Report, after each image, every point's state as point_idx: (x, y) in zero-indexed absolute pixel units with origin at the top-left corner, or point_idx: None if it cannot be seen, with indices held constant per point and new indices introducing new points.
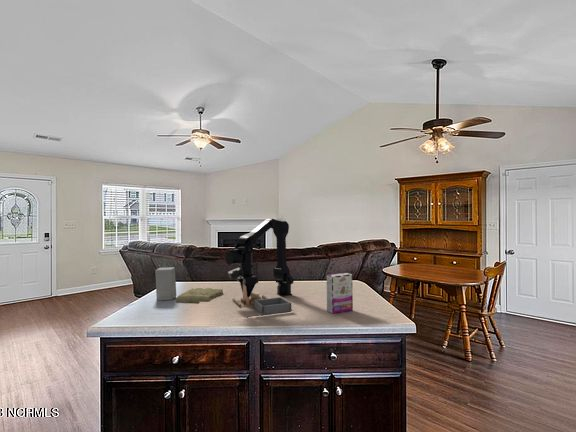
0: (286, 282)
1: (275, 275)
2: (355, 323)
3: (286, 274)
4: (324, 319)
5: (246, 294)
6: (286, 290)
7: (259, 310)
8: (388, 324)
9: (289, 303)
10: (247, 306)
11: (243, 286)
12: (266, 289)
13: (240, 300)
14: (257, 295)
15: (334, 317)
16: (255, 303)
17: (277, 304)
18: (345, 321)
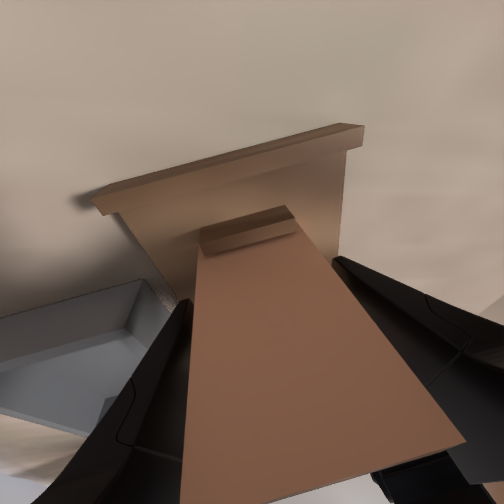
0: None
1: (437, 462)
2: (23, 469)
3: (385, 495)
4: (34, 443)
5: (196, 309)
6: None
7: (14, 326)
8: (44, 484)
9: (84, 435)
10: (147, 252)
11: (348, 341)
12: (476, 309)
13: (335, 201)
14: None
15: (68, 448)
16: (83, 327)
17: (36, 420)
18: (34, 461)
